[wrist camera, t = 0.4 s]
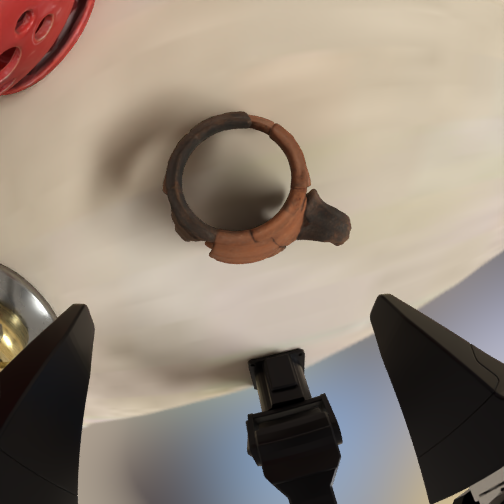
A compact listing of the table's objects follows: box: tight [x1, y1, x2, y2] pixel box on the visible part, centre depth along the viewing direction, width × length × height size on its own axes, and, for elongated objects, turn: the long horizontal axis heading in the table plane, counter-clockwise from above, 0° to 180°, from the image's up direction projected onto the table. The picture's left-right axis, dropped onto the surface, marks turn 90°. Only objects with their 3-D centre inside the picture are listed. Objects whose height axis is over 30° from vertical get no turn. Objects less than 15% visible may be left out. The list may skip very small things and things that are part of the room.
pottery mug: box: [163, 112, 351, 264], centre depth 18 cm, size 12×9×8 cm
